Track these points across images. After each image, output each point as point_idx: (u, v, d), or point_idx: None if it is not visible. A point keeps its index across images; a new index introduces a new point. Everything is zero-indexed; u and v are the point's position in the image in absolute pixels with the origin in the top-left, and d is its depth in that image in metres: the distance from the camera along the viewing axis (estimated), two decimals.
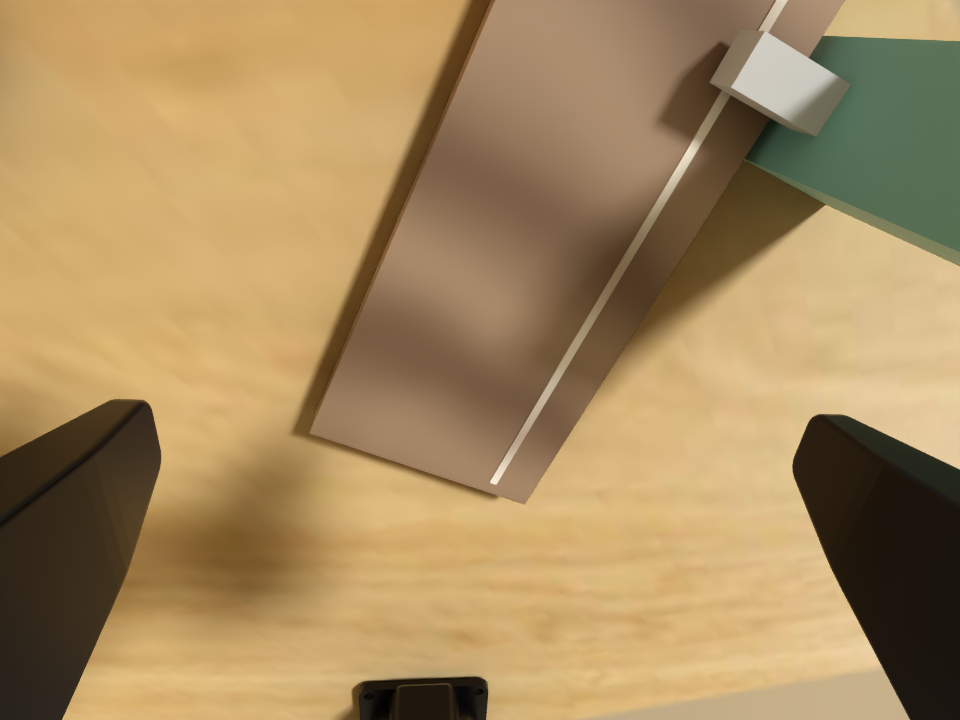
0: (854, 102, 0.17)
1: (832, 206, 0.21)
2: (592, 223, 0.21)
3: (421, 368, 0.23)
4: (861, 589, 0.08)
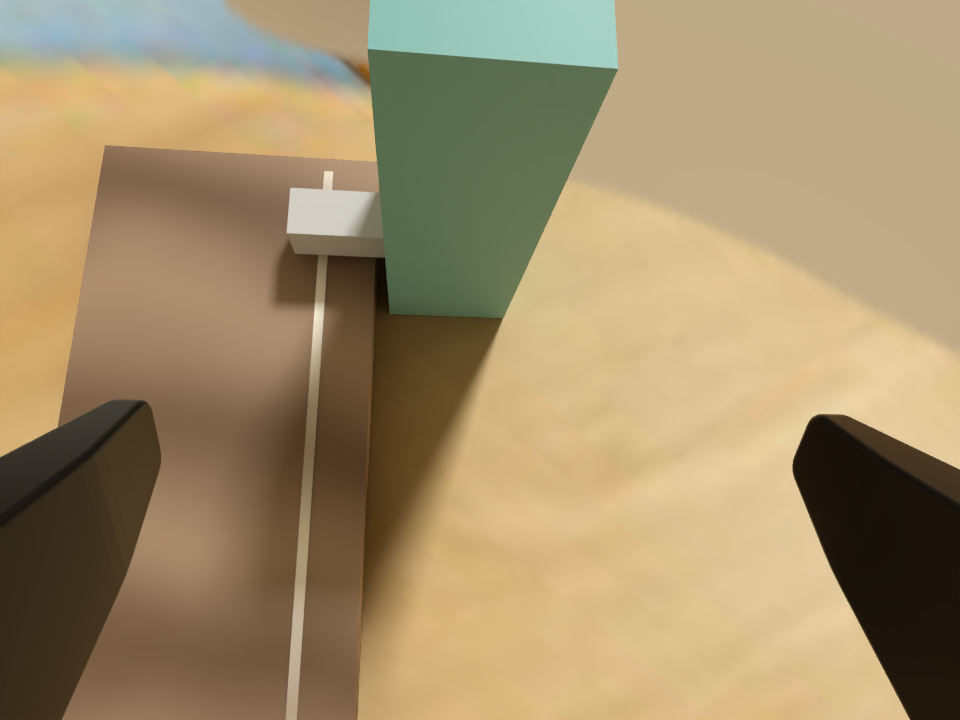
0: None
1: (490, 306, 0.22)
2: (256, 412, 0.20)
3: (122, 665, 0.18)
4: (861, 589, 0.08)
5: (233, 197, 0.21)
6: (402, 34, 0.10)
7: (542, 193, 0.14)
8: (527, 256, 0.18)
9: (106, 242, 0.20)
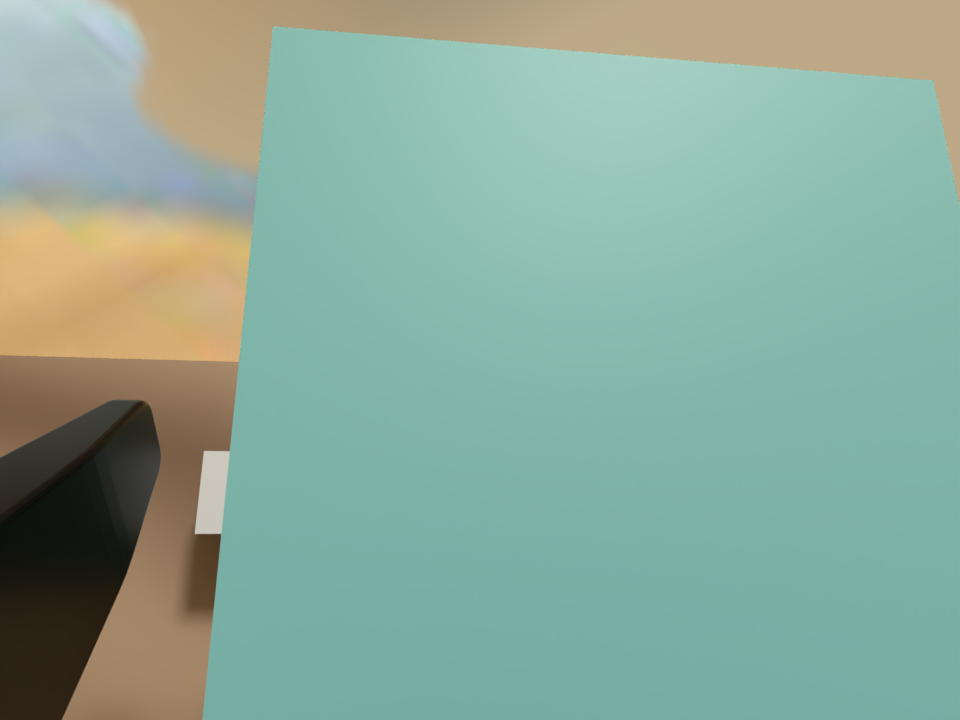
0: None
1: None
2: None
3: None
4: None
5: None
6: None
7: None
8: None
9: None
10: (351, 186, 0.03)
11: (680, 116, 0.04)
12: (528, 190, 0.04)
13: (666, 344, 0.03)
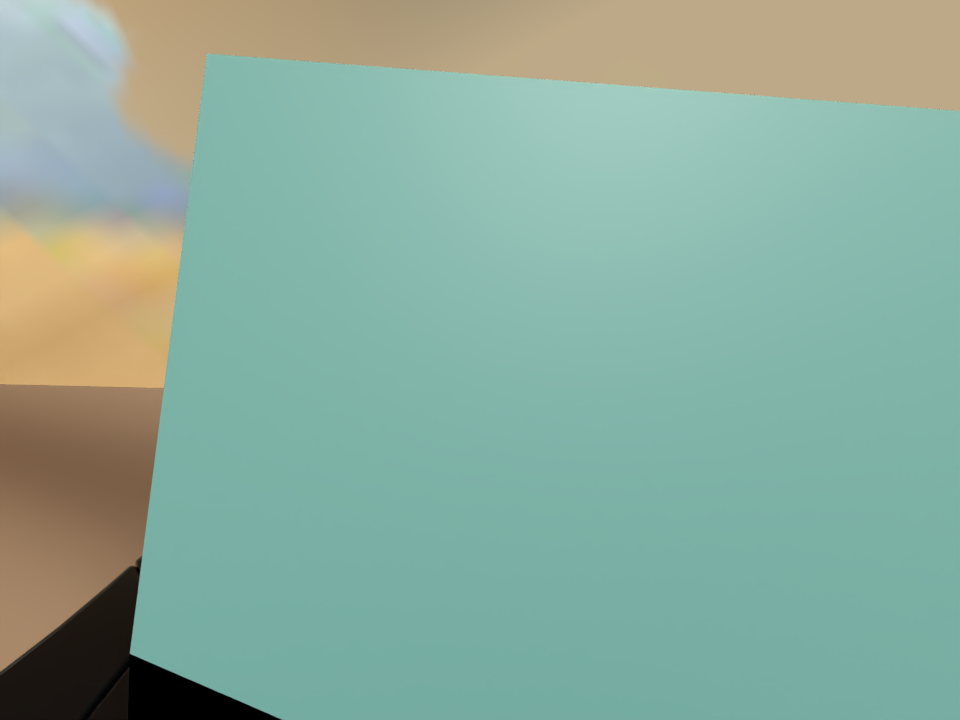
0: None
1: None
2: None
3: None
4: None
5: (104, 467, 0.13)
6: None
7: None
8: None
9: None
10: (315, 285, 0.02)
11: (775, 178, 0.03)
12: (567, 287, 0.02)
13: (764, 514, 0.02)
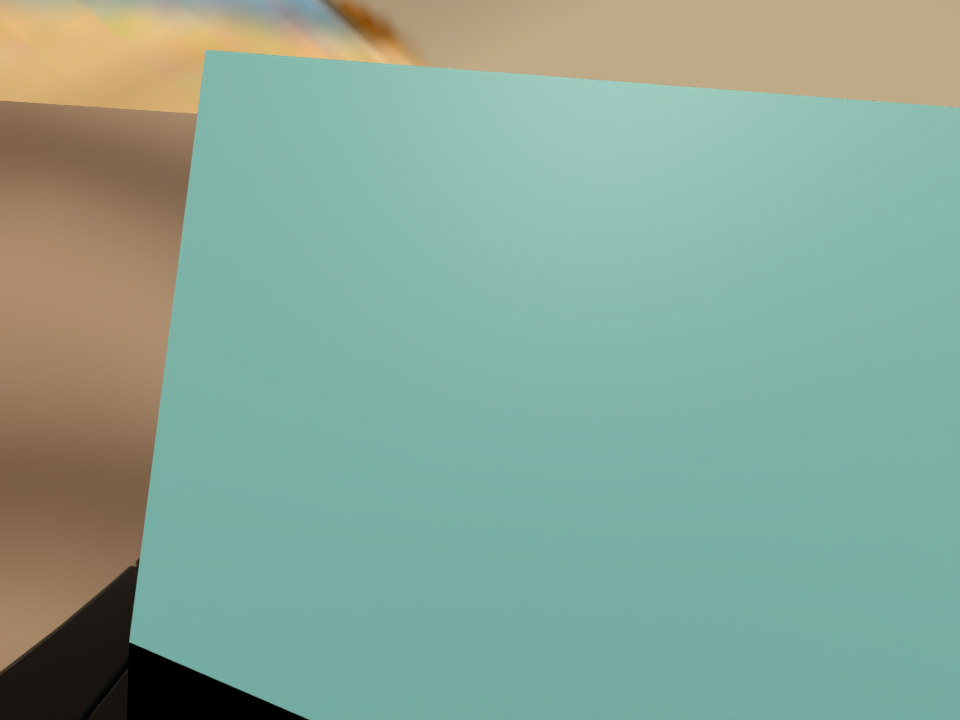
0: None
1: None
2: None
3: None
4: None
5: (168, 171, 0.16)
6: None
7: None
8: None
9: None
10: (314, 282, 0.02)
11: (775, 174, 0.03)
12: (566, 284, 0.02)
13: (764, 511, 0.02)
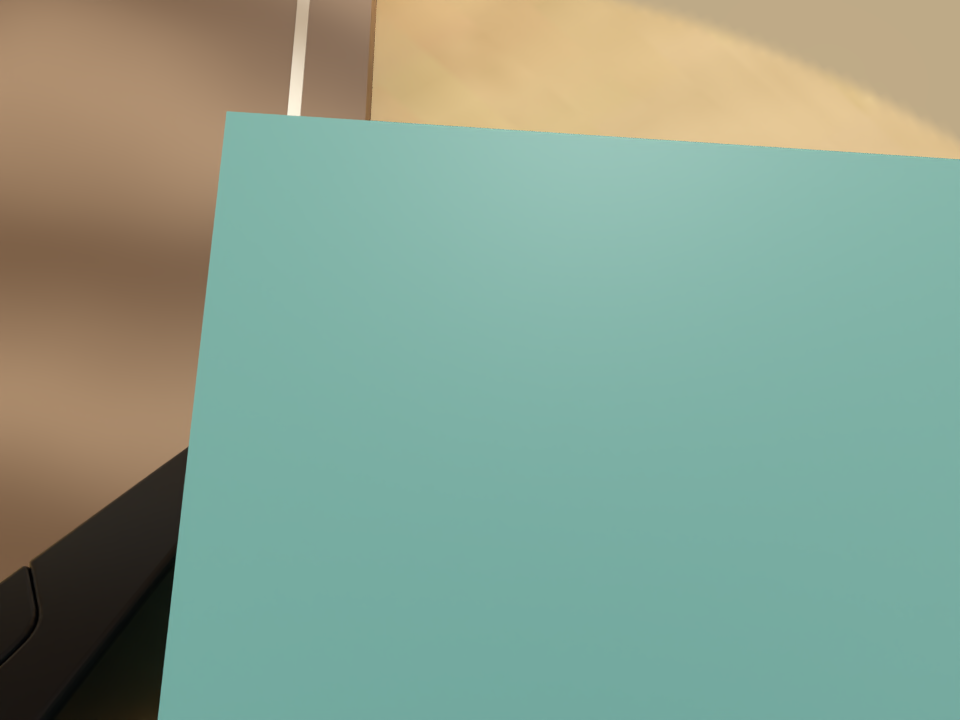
0: None
1: None
2: (206, 250, 0.15)
3: None
4: None
5: None
6: None
7: None
8: None
9: (8, 32, 0.15)
10: (326, 325, 0.03)
11: (746, 222, 0.03)
12: (555, 325, 0.03)
13: (734, 532, 0.03)
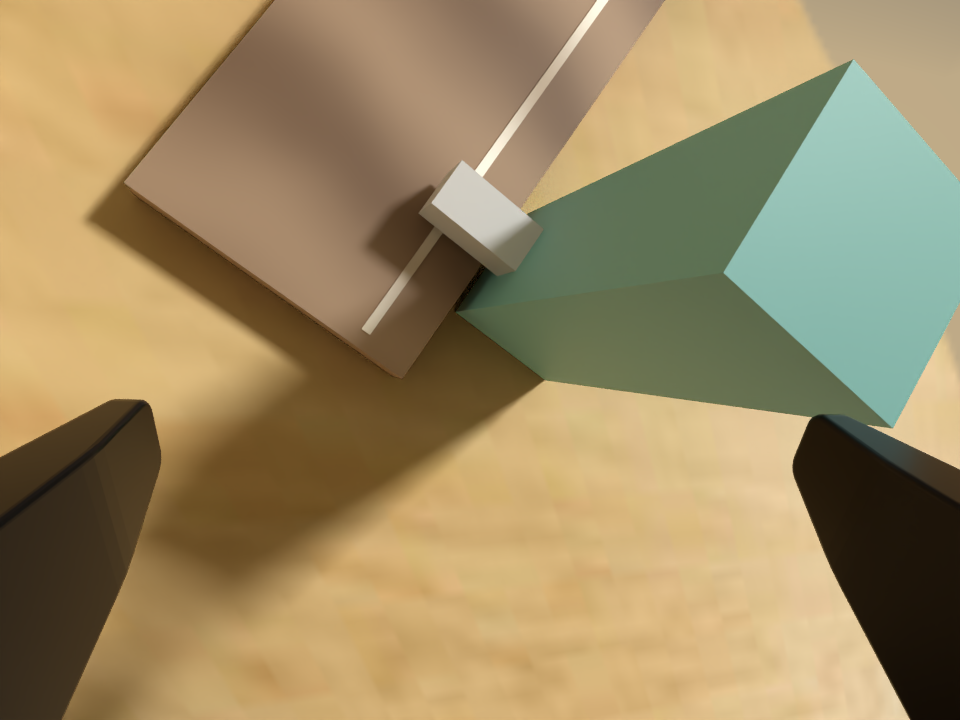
0: (545, 237, 0.18)
1: (546, 372, 0.21)
2: (520, 22, 0.20)
3: (305, 131, 0.18)
4: (861, 589, 0.08)
5: None
6: (758, 277, 0.09)
7: (704, 393, 0.14)
8: (627, 389, 0.17)
9: None
10: (843, 129, 0.10)
11: (932, 181, 0.10)
12: (882, 169, 0.10)
13: (885, 242, 0.10)
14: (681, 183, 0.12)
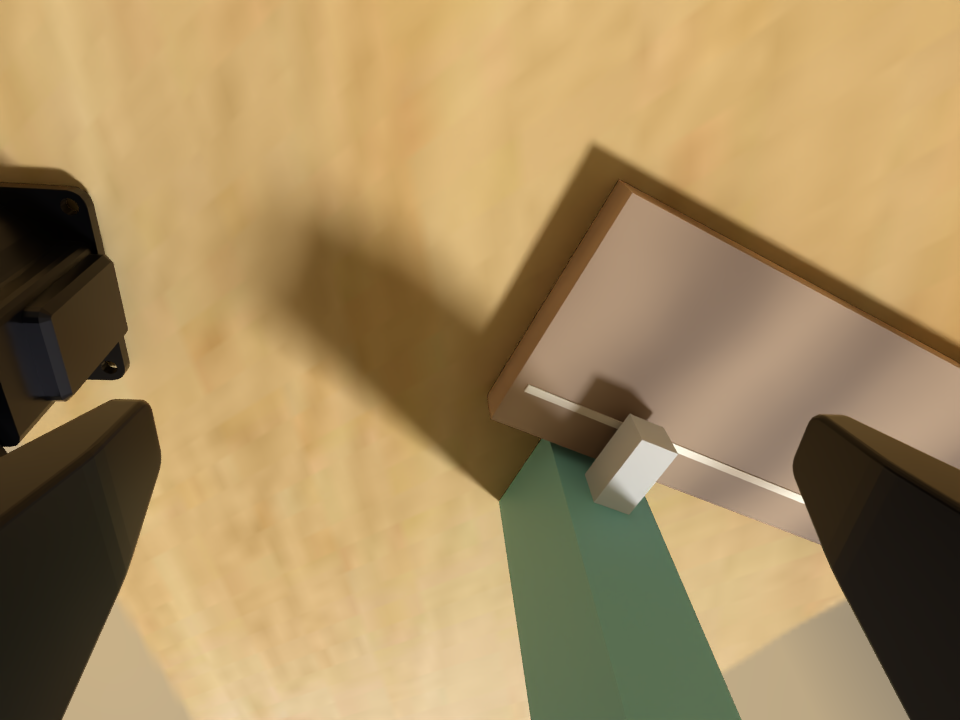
0: (624, 524, 0.22)
1: (509, 511, 0.26)
2: (788, 451, 0.25)
3: (688, 319, 0.21)
4: (861, 589, 0.08)
5: None
6: None
7: (536, 700, 0.19)
8: (516, 608, 0.22)
9: None
10: None
11: None
12: None
13: None
14: (688, 686, 0.17)
